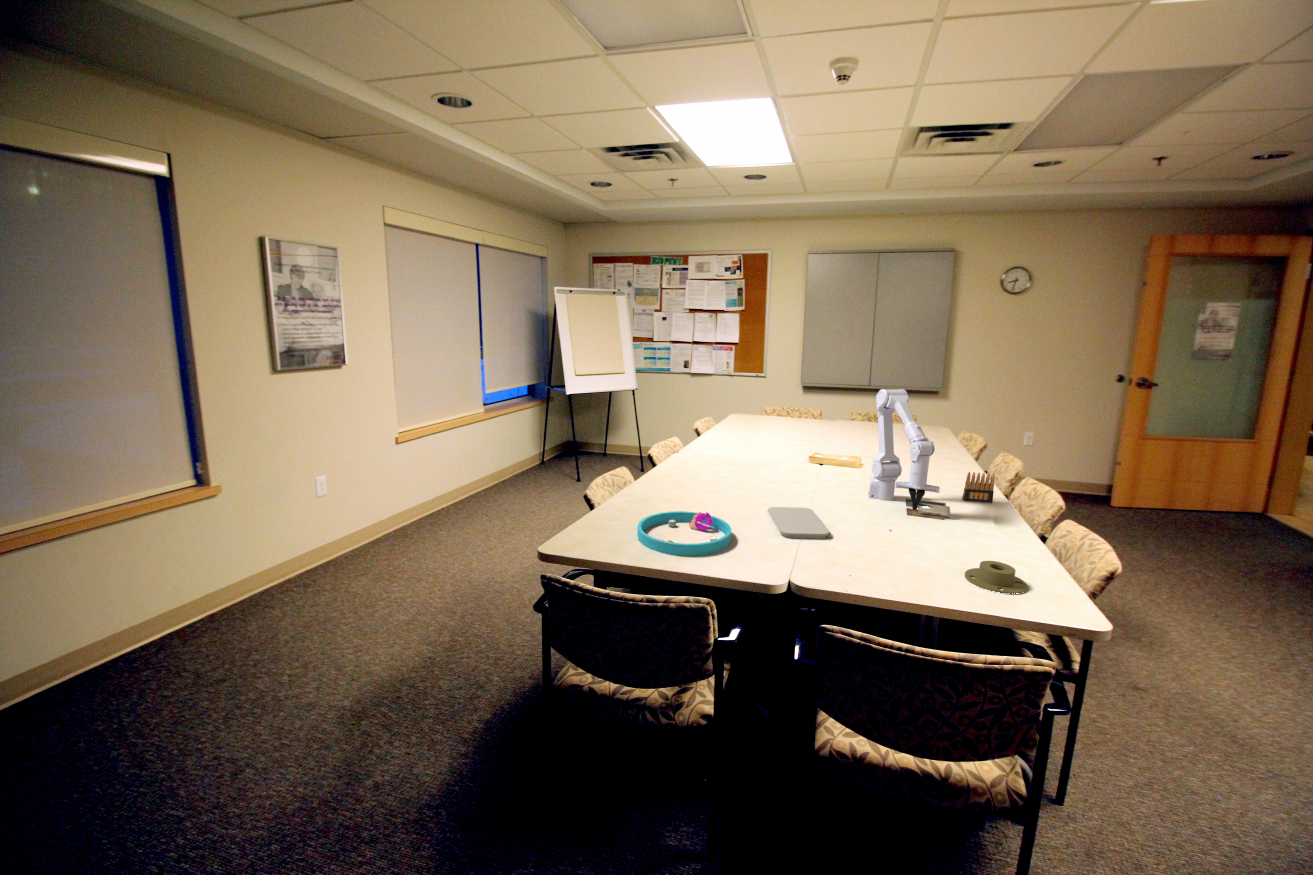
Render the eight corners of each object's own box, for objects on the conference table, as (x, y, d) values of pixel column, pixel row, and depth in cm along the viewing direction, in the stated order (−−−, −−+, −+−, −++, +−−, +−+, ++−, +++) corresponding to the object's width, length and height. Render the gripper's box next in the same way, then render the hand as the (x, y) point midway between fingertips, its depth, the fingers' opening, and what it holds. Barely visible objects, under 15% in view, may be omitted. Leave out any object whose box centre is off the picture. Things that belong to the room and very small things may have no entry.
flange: (961, 552, 167) (973, 574, 153) (1020, 560, 162) (1037, 582, 148) (959, 567, 168) (971, 590, 153) (1017, 575, 163) (1035, 599, 149)
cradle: (905, 508, 218) (906, 503, 218) (905, 503, 225) (905, 497, 224) (946, 513, 213) (947, 508, 213) (944, 508, 220) (945, 502, 219)
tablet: (810, 513, 211) (810, 507, 211) (831, 540, 186) (831, 534, 185) (765, 512, 211) (766, 506, 211) (780, 539, 186) (781, 532, 185)
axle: (918, 515, 208) (919, 504, 207) (917, 511, 212) (918, 501, 211) (948, 519, 205) (950, 508, 204) (947, 515, 208) (949, 505, 207)
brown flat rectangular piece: (906, 517, 208) (907, 513, 208) (906, 511, 215) (906, 507, 214) (943, 522, 204) (944, 518, 204) (941, 516, 210) (942, 512, 210)
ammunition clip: (990, 501, 229) (995, 472, 227) (992, 503, 228) (997, 474, 225) (962, 499, 231) (966, 470, 229) (963, 501, 229) (967, 472, 227)
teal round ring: (746, 535, 189) (747, 518, 188) (700, 566, 165) (701, 546, 164) (670, 515, 206) (670, 500, 204) (618, 541, 181) (618, 523, 180)
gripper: (897, 473, 206) (893, 509, 209) (942, 478, 201) (937, 515, 204) (897, 468, 213) (893, 503, 215) (940, 473, 207) (935, 509, 210)
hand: (914, 508), depth 210 cm, fingers closed
